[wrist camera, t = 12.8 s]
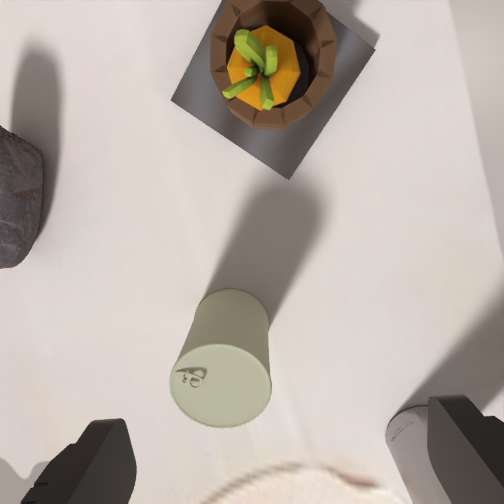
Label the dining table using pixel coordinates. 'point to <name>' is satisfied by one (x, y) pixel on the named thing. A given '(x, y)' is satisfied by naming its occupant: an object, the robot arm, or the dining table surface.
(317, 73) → the holder
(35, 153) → the perforated stone tool
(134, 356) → the dining table surface
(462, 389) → the dining table surface
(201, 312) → the can
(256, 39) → the carrot
